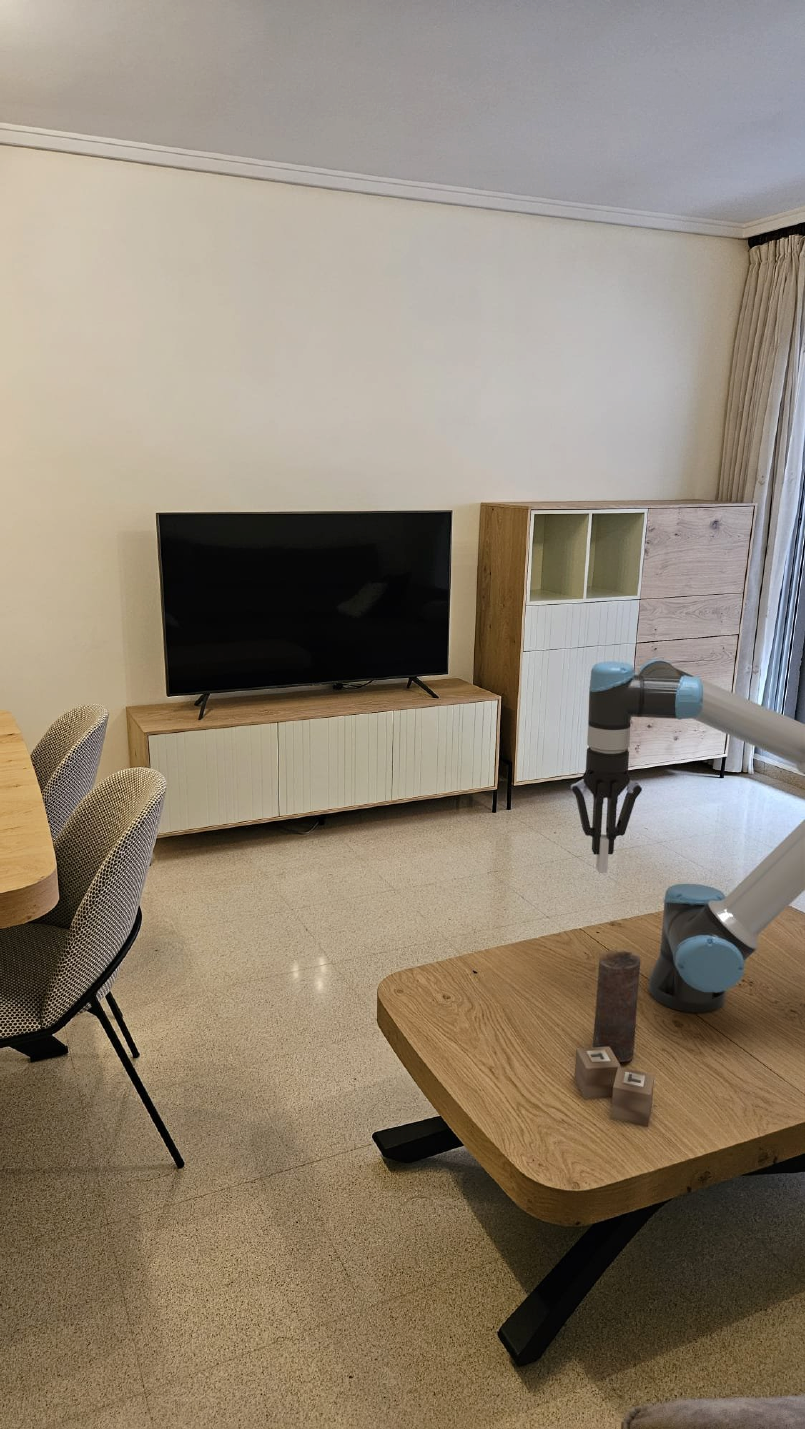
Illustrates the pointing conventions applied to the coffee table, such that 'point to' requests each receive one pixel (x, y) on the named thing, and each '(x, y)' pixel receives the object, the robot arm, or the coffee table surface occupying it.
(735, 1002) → the coffee table surface
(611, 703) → the robot arm
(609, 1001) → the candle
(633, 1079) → the block seven
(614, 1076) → the block two
